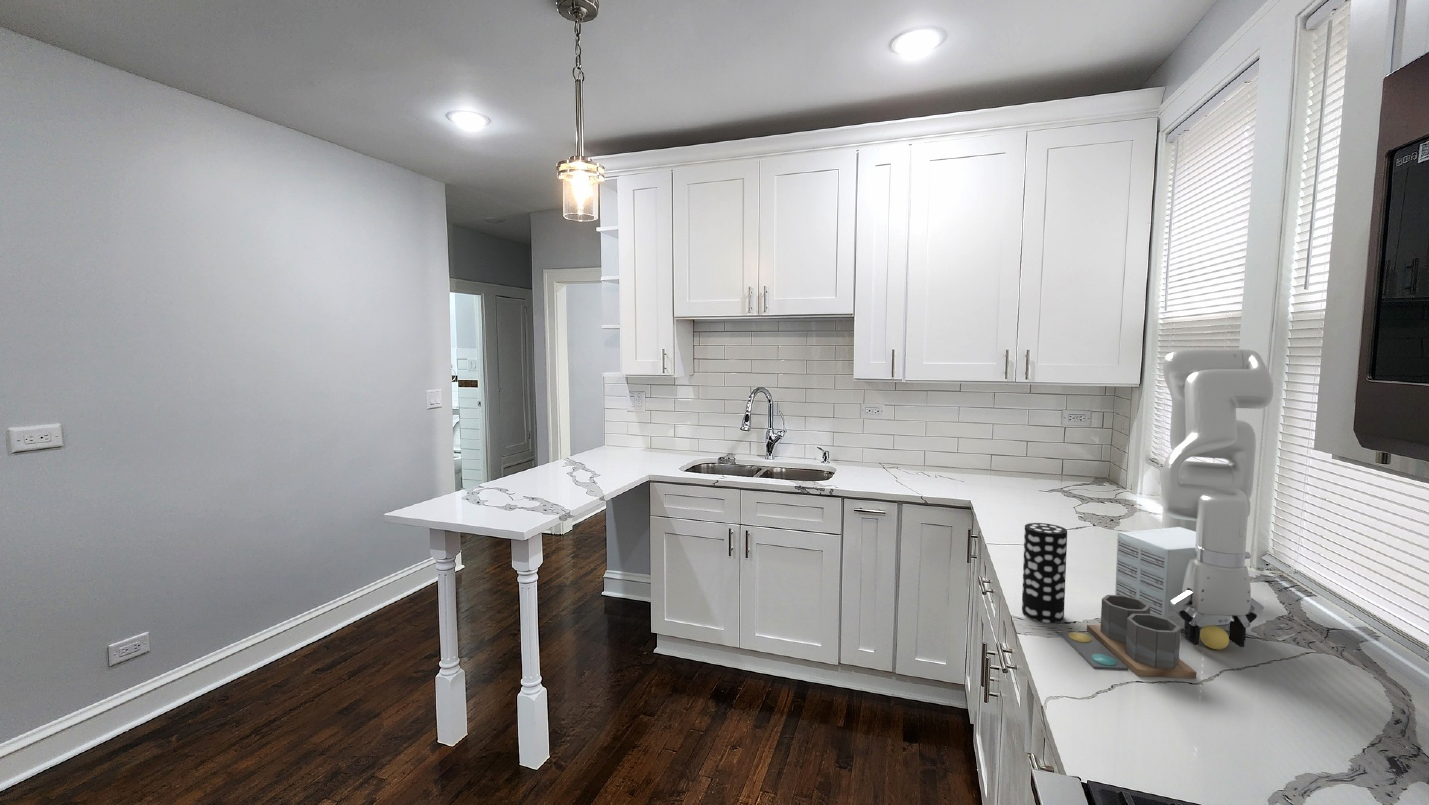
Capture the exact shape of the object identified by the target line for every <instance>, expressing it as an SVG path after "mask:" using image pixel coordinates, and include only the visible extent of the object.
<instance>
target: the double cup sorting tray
mask: <svg viewBox="0 0 1429 805" xmlns="http://www.w3.org/2000/svg"><path fill="white" fill-rule="evenodd" d="M1100 611H1101V612H1100V624H1086V631H1087V633H1090V634H1091V635H1092V636H1093V637H1095V638H1096V639H1097V640H1098V641H1099V642H1100V643H1101V644H1102V645H1103V646H1105V647H1106V648H1107V649H1108V650H1109V651H1110V652H1111V653H1112V654H1113V655H1115V656H1116V657H1117V658H1118V659H1119V660H1120V661H1121V662H1122V663H1123V664H1125V665H1126V666H1127V667H1128V670H1131V671H1132V672H1133V673H1134V675H1136V676H1138V677H1152V678H1153V677H1155V678H1156V677H1157V678H1158V677H1159V678H1180V679H1181V678H1182V679H1197V671H1196V670H1195V669H1193V668H1192V667H1191V666H1189V665H1188V664H1187V663H1185V662H1184V661H1183V660H1182V659H1180V647H1181V646H1180V645H1181V644H1180V643H1181V631H1182V629H1181V627H1180V626H1178V625H1177V624H1175V623H1174V622H1173V621H1171V620H1169V619H1166V618H1162V617H1159V616H1155V615H1152V614H1150V606H1149V605H1148V604H1146V603H1145V602H1143V601H1142V600H1139V599H1136V598H1132V597H1128V596H1124V595H1115V594H1107V595H1104V597H1102V598H1101V610H1100Z"/></svg>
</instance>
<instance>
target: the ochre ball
mask: <svg viewBox="0 0 1429 805" xmlns="http://www.w3.org/2000/svg"><path fill="white" fill-rule="evenodd" d="M1199 639H1200V641H1201V642H1202V644H1204V645H1205V646H1206V647H1208V648H1210V649H1212V650H1223V649H1225V648H1227V646H1229V644H1230V640H1229V633H1228V632H1226V630H1224V628H1222V627H1220V626H1219V625H1215V626H1214V625H1208V626H1205V627H1201V628H1200V638H1199Z"/></svg>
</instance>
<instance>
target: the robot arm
mask: <svg viewBox="0 0 1429 805" xmlns="http://www.w3.org/2000/svg"><path fill="white" fill-rule="evenodd" d="M1162 373H1163V378H1164V381H1165V385H1166V387H1167V389H1168V391H1169V393H1170V398H1171V412H1170V414H1171V415H1170V427H1169V428H1170V430H1169V431H1170V432H1169V445H1170V449H1171V452H1169V454H1168V455H1167V457H1166V458H1165V460H1164V463H1163V466H1162V468H1161V470H1160V474H1159V476H1160V477H1159V478H1160V479H1159V481H1160V486H1161V488H1160V489H1161V490H1160V493H1161V494H1160V496H1161V506H1162V518H1161V519H1162V521H1161V524H1162V525H1161V529H1163V528H1173V527H1181V528H1185V529H1188V530H1191V531H1195V532H1196V543H1195V559H1191V560H1190V561H1189V563H1188V566H1187V569H1186V573H1185V577H1184V582H1183V589H1182V594H1181V595H1180V596H1178V597H1176V598H1175V599H1173V600H1171V601H1170V604H1171V606H1172V607H1173V608H1174V610H1175V611H1176V613H1177V614H1178V615H1179V616H1180V617H1181V618H1182V619H1183V620H1184V621H1185V625H1184V629H1183V636H1184V640H1186V641H1188V643H1190V644H1192V645H1193V646H1199V645H1200V639H1201V638H1200V631H1201V627H1199V626H1198V625H1197V623H1198V622H1199V621H1200V619H1201V618H1202V617H1203V615H1225V616H1230V618H1232V620H1230V624H1229V625H1228V626H1229V630H1228V637H1229V642H1232V643H1233V644H1235V645H1236V646H1238V647H1239V648H1244V647H1245V646H1246V645H1245V643H1246V642H1245V641H1246V638H1247V637H1246V635H1247V629H1248V628H1250V627H1251V623H1252V622H1253V621H1255V620H1257V617H1258V616H1259V615H1260V613H1261V612H1263V610H1264V608H1265V607H1264V605H1262V604H1261V603H1260V602H1259V601H1257V600H1256V599H1254V598H1253V597H1252V593H1251V592H1252V591H1251V590H1252V589H1251V579H1250V573H1249V569H1248V567H1247V565H1246V560H1247V559H1248V560H1249V559H1251V555H1252V554H1251V553H1250V552H1249V551H1246V548H1247V531H1248V519H1249V516H1250V515H1251V514H1250V513H1251V500H1250V499H1251V498H1252V495H1253V494H1252V493H1253V489H1254V488H1253V486H1254V477H1255V476H1254V475H1255V463H1256V462H1255V460H1256V450H1257V449H1256V448H1257V437H1256V434H1255V430H1254V427H1253V426H1252V425H1251V424H1250V423H1249V422H1247V421H1245V420H1240V419H1237V409H1253V410H1254V409H1255V410H1256V409H1257V410H1258V409H1259V410H1260V409H1264V408H1266V407H1269V405H1270V404H1271V402H1272V400H1273V396H1274V384H1273V379H1272V375H1271V374H1270V371H1269V369H1268V367H1267V365H1266V364H1265V362H1264V360H1263V358H1262V356H1261V355H1260V354H1259V353H1258V352H1257V351H1254V350H1251V349H1183V350H1176V351H1173V352H1169V353H1168V354H1166V356H1165V357H1164V358H1163V362H1162ZM1189 458H1205V459H1222V460H1226V461H1227V463H1219V462H1206V461H1191V460H1188V459H1189ZM1183 605H1186V606H1189V607H1188V608H1187V609H1186V611H1185V610H1184V608H1183ZM1194 612H1195V614H1194ZM1193 614H1194V615H1193ZM1192 615H1193V616H1192ZM1191 616H1192V617H1191Z"/></svg>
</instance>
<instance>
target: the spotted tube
mask: <svg viewBox="0 0 1429 805" xmlns="http://www.w3.org/2000/svg"><path fill="white" fill-rule="evenodd" d="M1023 537H1024V538H1023V541H1024V542H1023V562H1022V563H1023V568H1022V594H1021V595H1022V598H1021V599H1022V600H1021V613H1022V615H1024V616H1025V617H1027V618H1029V619H1031V620H1034V621H1036V622H1037V621H1038V622H1041V623H1046V624H1047V623H1049V624H1055V623H1061V622H1063V621H1064V618H1065V597H1066V596H1065V595H1066V578H1067V577H1066V576H1067V574H1066V571H1067V551H1068V550H1067V546H1068V529H1067V528H1065V527H1063V526H1060V525H1057V524H1051V523H1044V522H1043V523H1042V522H1030V523H1026V524H1025V525H1024V535H1023Z"/></svg>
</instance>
